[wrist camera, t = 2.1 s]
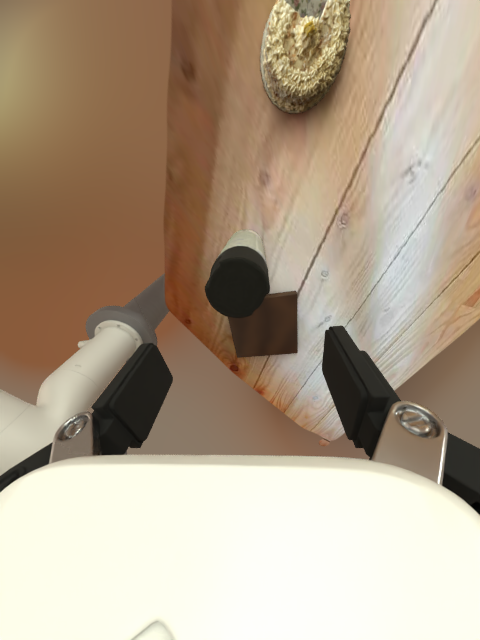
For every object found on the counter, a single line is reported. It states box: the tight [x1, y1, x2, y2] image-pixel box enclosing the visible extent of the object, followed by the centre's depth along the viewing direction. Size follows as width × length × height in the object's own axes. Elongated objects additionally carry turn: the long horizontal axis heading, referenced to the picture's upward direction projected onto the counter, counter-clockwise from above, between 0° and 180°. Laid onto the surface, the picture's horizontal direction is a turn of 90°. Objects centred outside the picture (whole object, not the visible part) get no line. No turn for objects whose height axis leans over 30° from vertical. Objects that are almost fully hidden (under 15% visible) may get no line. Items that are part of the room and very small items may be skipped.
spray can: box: [205, 230, 270, 318], centre depth 27 cm, size 7×7×20 cm
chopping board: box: [228, 291, 297, 357], centre depth 44 cm, size 15×16×2 cm
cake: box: [260, 0, 351, 114], centre depth 21 cm, size 10×10×5 cm
